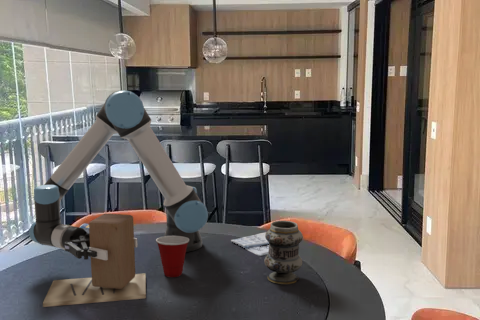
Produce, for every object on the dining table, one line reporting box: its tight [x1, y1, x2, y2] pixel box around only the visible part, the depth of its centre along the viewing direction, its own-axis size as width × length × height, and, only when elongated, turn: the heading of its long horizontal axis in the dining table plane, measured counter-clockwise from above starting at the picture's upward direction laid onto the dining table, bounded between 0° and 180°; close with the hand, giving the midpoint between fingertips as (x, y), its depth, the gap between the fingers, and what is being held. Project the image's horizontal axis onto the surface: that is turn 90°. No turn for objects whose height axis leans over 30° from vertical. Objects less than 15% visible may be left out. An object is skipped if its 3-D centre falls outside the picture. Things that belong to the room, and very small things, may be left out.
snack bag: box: [230, 231, 269, 257], centre depth 185 cm, size 19×20×2 cm
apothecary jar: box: [263, 220, 304, 285], centre depth 151 cm, size 12×12×18 cm
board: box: [42, 272, 147, 308], centre depth 144 cm, size 28×16×1 cm, turn 101°
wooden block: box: [88, 213, 136, 289], centre depth 143 cm, size 10×10×20 cm
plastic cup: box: [155, 235, 189, 278], centre depth 156 cm, size 11×11×12 cm
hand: (122, 248), depth 141 cm, fingers closed on wooden block, 12 cm apart
